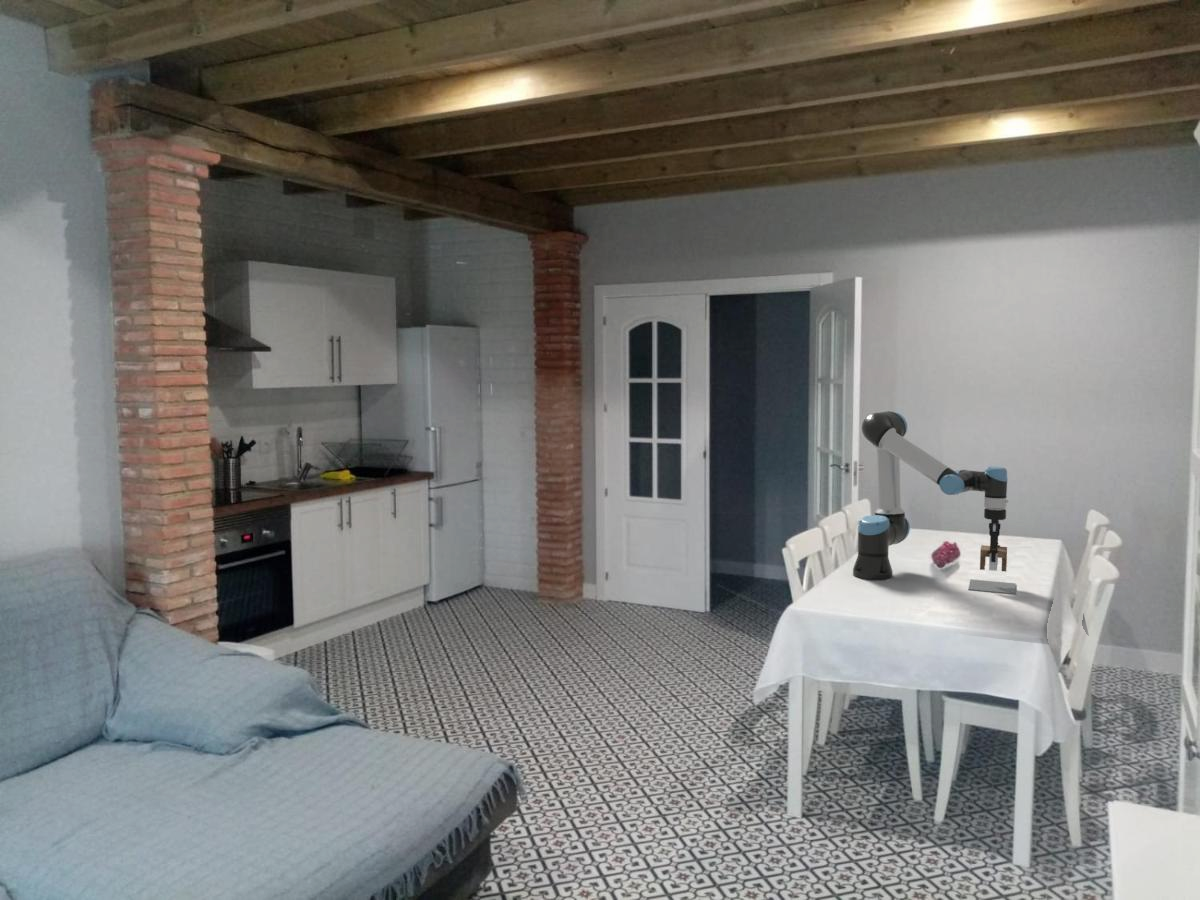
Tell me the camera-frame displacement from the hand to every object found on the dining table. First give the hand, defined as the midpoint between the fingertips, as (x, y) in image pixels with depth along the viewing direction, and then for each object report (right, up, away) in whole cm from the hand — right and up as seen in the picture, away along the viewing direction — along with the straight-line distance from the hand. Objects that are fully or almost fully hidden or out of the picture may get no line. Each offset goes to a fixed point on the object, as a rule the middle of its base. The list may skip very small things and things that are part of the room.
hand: (993, 567), depth 344 cm
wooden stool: (0, 0, 0) cm, 0 cm away
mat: (0, -7, +1) cm, 8 cm away
